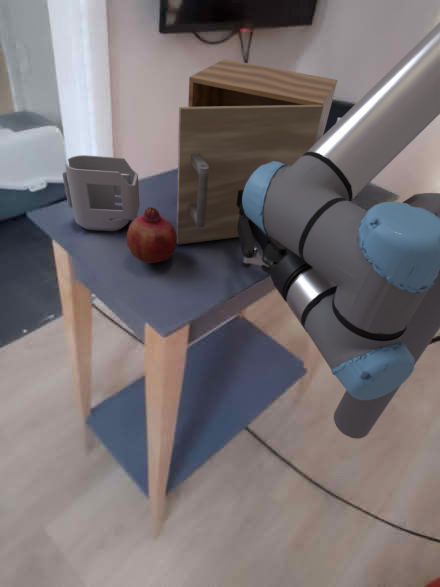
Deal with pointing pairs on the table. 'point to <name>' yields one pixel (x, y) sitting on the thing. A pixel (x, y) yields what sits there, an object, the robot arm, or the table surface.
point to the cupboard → (259, 88)
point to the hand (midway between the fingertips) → (241, 197)
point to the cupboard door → (232, 159)
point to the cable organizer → (101, 191)
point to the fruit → (151, 237)
